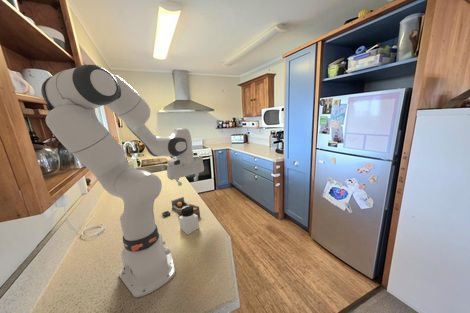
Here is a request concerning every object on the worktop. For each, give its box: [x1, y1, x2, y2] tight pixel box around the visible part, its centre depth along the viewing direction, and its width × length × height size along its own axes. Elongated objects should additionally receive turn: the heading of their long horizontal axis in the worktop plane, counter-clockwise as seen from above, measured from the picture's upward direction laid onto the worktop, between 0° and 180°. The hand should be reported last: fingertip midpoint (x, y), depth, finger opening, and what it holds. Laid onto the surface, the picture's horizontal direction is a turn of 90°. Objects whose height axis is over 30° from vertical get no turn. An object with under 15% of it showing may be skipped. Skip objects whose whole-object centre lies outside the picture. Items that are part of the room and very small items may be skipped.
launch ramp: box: [177, 203, 201, 218], centre depth 104 cm, size 12×8×6 cm, turn 40°
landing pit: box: [170, 196, 190, 214], centre depth 113 cm, size 10×8×5 cm
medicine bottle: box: [178, 206, 200, 235], centre depth 90 cm, size 7×7×12 cm
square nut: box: [161, 210, 171, 218], centre depth 106 cm, size 4×4×2 cm
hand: (188, 183), depth 98 cm, fingers open, 8 cm apart
